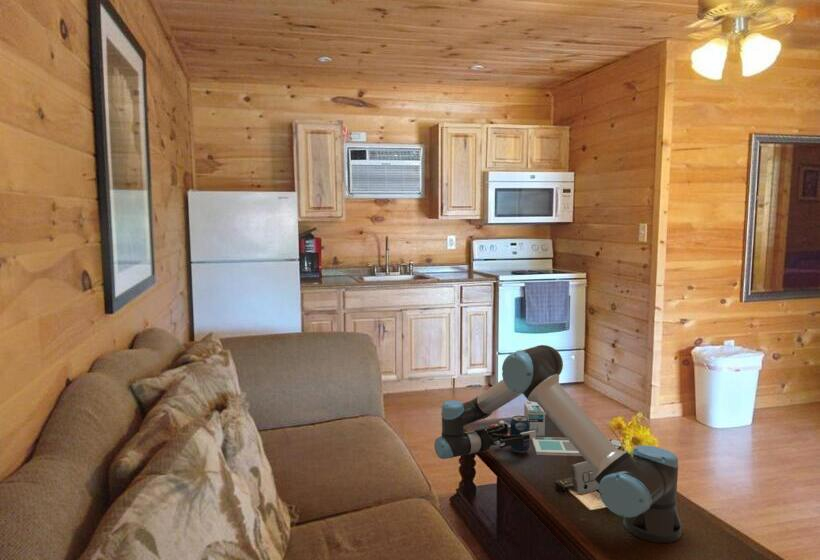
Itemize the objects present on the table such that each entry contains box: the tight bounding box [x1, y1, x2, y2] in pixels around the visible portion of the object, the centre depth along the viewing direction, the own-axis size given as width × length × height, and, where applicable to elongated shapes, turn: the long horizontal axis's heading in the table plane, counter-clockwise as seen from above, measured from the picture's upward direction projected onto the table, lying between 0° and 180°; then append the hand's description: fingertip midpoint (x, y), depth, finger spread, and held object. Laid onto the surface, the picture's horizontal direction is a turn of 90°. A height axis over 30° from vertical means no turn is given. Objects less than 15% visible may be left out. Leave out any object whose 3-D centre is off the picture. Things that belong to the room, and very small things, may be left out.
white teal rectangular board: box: [531, 436, 583, 457], centre depth 215 cm, size 14×20×1 cm
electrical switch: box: [569, 460, 599, 495], centre depth 183 cm, size 9×5×9 cm, turn 116°
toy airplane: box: [489, 420, 511, 435], centre depth 227 cm, size 9×9×6 cm
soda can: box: [510, 415, 531, 453], centre depth 210 cm, size 7×7×12 cm
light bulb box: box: [523, 401, 546, 437], centre depth 231 cm, size 11×7×11 cm, turn 179°
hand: (528, 430), depth 212 cm, fingers closed on soda can, 7 cm apart
